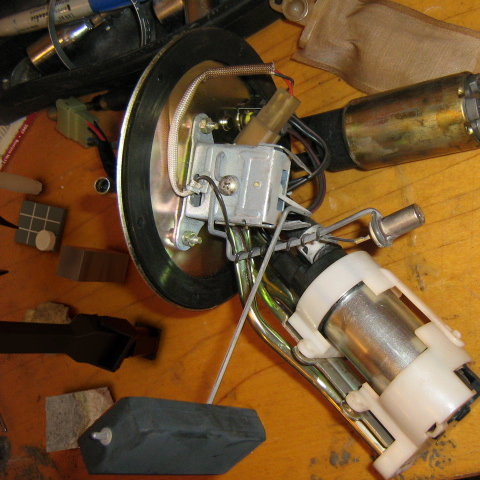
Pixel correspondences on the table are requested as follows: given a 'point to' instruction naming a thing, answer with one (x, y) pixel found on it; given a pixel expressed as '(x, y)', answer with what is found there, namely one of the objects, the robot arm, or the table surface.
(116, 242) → the table surface
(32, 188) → the handle
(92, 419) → the geological specimen
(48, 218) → the board
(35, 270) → the table surface
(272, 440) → the table surface
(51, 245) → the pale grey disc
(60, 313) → the decorative rock
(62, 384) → the table surface
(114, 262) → the stand
